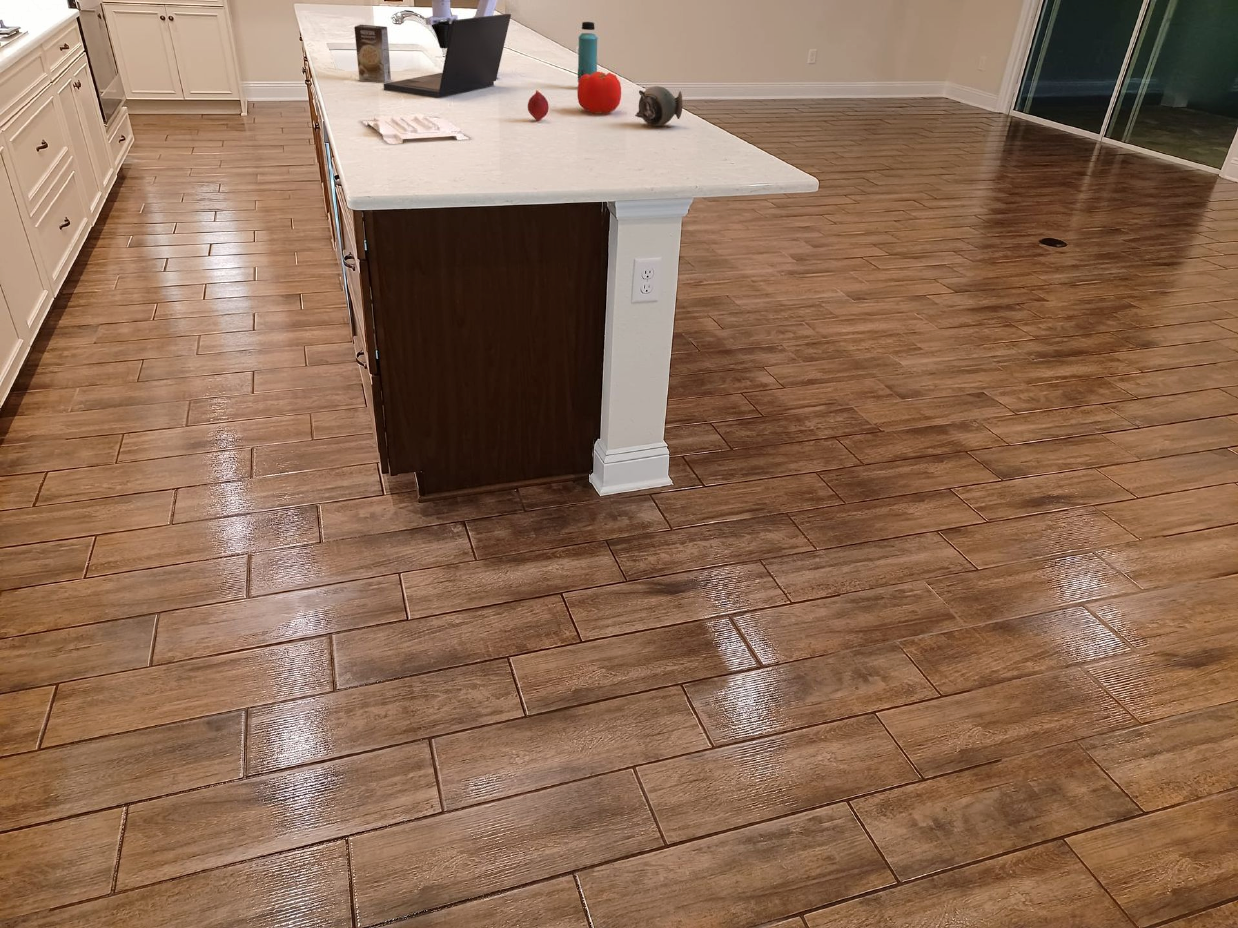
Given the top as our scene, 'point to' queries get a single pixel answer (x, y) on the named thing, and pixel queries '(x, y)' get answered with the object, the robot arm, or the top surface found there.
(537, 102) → the onion
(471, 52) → the laptop screen
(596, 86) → the tomato
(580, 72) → the beverage bottle
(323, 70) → the top surface
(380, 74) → the coffee box
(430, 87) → the laptop
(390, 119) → the tray
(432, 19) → the robot arm
